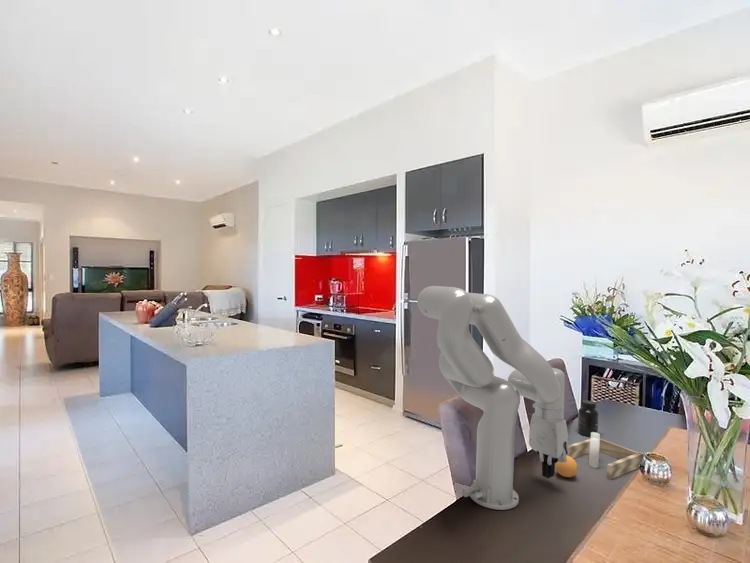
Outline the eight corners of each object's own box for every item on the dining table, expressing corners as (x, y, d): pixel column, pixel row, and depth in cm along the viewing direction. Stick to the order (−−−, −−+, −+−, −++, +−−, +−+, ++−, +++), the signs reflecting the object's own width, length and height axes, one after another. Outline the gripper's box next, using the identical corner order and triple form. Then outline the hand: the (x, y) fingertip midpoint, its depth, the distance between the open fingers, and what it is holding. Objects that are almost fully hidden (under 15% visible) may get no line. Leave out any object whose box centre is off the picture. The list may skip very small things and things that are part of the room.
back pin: (596, 462, 134) (597, 435, 134) (588, 459, 136) (589, 433, 136) (600, 460, 135) (601, 434, 135) (592, 457, 138) (593, 431, 138)
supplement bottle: (600, 438, 154) (601, 405, 154) (580, 436, 156) (581, 404, 155) (594, 431, 161) (595, 400, 161) (575, 429, 162) (576, 398, 162)
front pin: (595, 468, 130) (596, 441, 129) (587, 465, 132) (588, 438, 132) (600, 466, 131) (601, 439, 131) (592, 463, 133) (593, 436, 133)
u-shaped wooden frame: (610, 479, 123) (611, 466, 123) (563, 459, 136) (564, 446, 136) (643, 466, 132) (643, 453, 132) (596, 448, 145) (596, 436, 145)
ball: (569, 483, 120) (569, 462, 120) (550, 474, 125) (551, 454, 125) (581, 478, 123) (582, 458, 123) (563, 469, 128) (563, 450, 128)
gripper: (518, 406, 124) (517, 468, 124) (565, 423, 111) (563, 491, 111) (535, 402, 127) (534, 462, 128) (582, 418, 115) (580, 484, 115)
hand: (548, 476), depth 120 cm, fingers closed
